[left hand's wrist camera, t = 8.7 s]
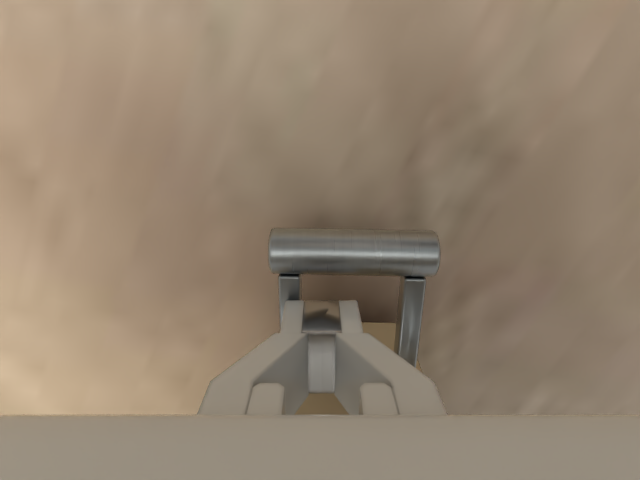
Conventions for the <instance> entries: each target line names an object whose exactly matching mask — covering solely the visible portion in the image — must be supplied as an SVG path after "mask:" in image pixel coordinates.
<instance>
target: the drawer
mask: <svg viewBox="0 0 640 480" xmlns="http://www.w3.org/2000/svg"><path fill="white" fill-rule="evenodd" d="M268 263H269V268H270V271H271V273H274V274H279V277H278V285H279V315H280V329H281V323H282V318H283V312H284V306H285V302H286V301H287V300H302V274H317V275H367V276H400V287H399V298H398V309H397V320H396V323H373V322H362V328H363V333H369V334H371V335H372V336H373V337H375V338H376V339H377V340H379V341H380V342H381V343H383V344H384V345H385V346H387V347H388V348H389V349H391V350H392V351H393V352H395V353H396V354H397V355H399V356H400V357H401V358H403V359H404V360H406V361H407V362H408V363H410V364H411V365H412V366H414V367H415V368H416V369H418V370H419V371H420V372H422V370H421V368H420V365H419V362H418V359H417V355H418V346H419V338H420V329H421V321H422V312H423V304H424V295H425V287H426V279H425V277H432V276H435V275H436V273H437V271H438V268H439V264H440V243H439V239H438V236H437V234H436V232H434V231H426V230H367V229H307V228H274V229H272V230H271V233H270V236H269V243H268ZM279 333H280V331H279ZM294 415H349V414H348V412H347V411H346V410H345V408H344V407H343V406H342V404H341V403H340V402H339V400H338V399H337V398H336V396H335V393H309V395H308V397H307V398H306V399H305V401H304V402H303V404H302V405H301V406H300V408H299V409H298V410H297V412H296V413H295V414H294Z"/></svg>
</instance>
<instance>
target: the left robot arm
mask: <svg viewBox="0 0 640 480" xmlns="http://www.w3.org/2000/svg"><path fill="white" fill-rule="evenodd" d="M309 393H335V396H336V398H337V399H338V400H339V402H340V403H341V404H342V406H343V407H344V408H345V410H346V411H347V412H348V414H349V415H294V414H295V413H296V412H297V410H298V409H299V408H300V406H301V405H302V404H303V402H304V401H305V399H306V398H307V397H308V395H309ZM0 480H640V415H448V414H447V412H446V409H445V407H444V404H443V402H442V399H441V397H440V395H439V392H438V390H437V387H436V385H435V382H434V381H432V380H431V379H430V378H428V377H427V376H426V375H424V374H423V373H422V372H420V371H419V370H418V369H416V368H415V367H414V366H412V365H411V364H410V363H408V362H407V361H406V360H404V359H403V358H401V357H400V356H399V355H397V354H396V353H395V352H393V351H392V350H391V349H389V348H388V347H387V346H385V345H384V344H383V343H381V342H380V341H379V340H377V339H376V338H375V337H373V336H372V335H371V334H369V333H363V328H362V322H361V317H360V312H359V307H358V302H357V301H356V300H341V301H338V300H334V301H315V300H305V301H304V300H287V301H286V302H285V306H284V312H283V318H282V323H281V329H280V333H274V334H273V335H271V336H270V337H269V338H267V339H266V340H265V341H263V342H262V343H261V344H259V345H258V346H257V347H255V348H254V349H253V350H251V351H250V352H249V353H247V354H246V355H245V356H243V357H242V358H241V359H239V360H238V361H237V362H235V363H234V364H233V365H231V366H230V367H229V368H227V369H226V370H225V371H223V372H222V373H221V374H219V375H218V376H217V377H215V378H214V379H213V380H211V381H210V383H209V386H208V388H207V391H206V393H205V396H204V398H203V401H202V403H201V406H200V408H199V411H198V413H197V415H0Z"/></svg>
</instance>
